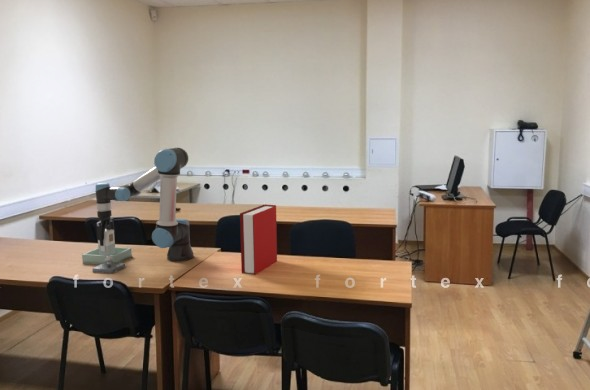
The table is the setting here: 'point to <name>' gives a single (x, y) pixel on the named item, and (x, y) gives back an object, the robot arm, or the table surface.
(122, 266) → the stud block
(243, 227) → the book
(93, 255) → the bin
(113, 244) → the white grey block
